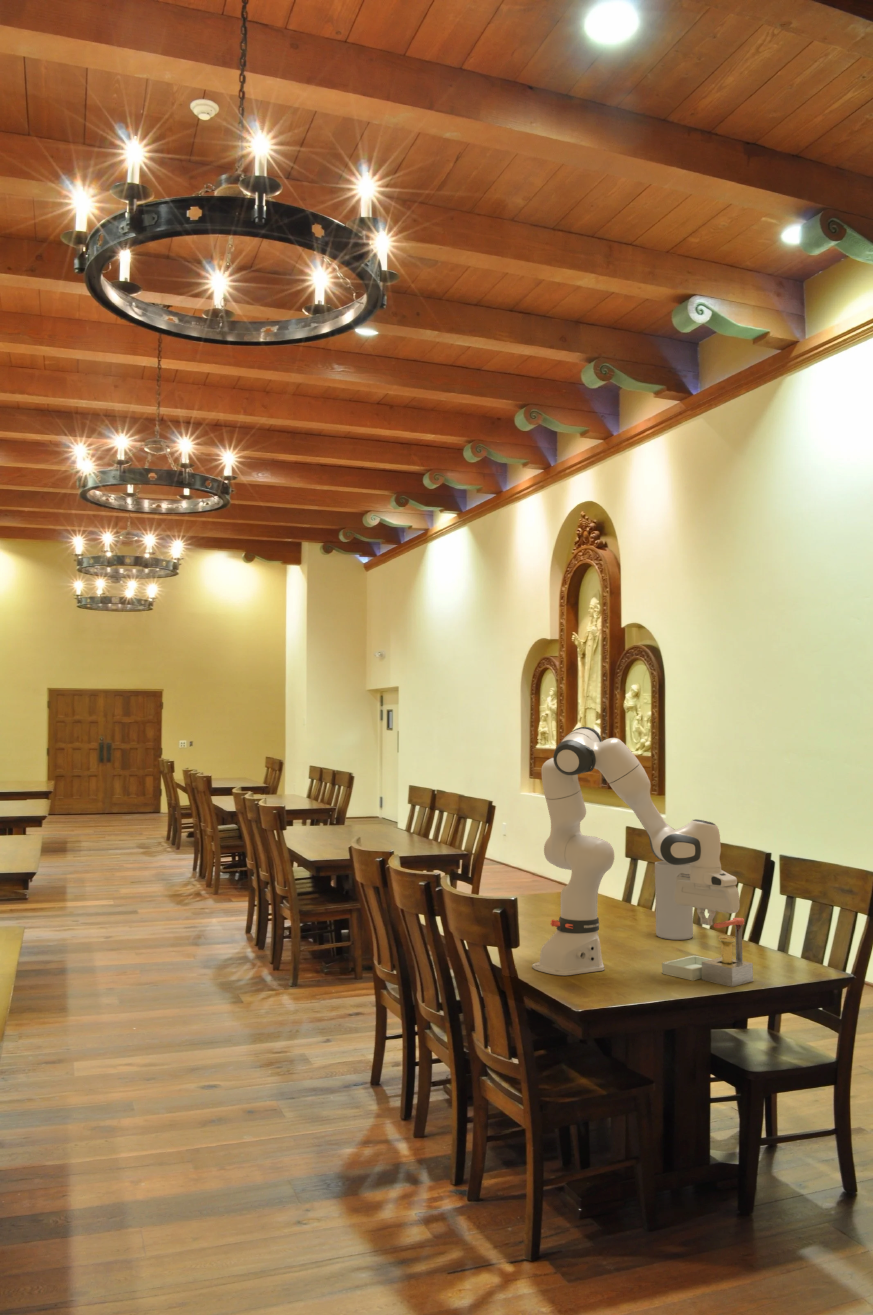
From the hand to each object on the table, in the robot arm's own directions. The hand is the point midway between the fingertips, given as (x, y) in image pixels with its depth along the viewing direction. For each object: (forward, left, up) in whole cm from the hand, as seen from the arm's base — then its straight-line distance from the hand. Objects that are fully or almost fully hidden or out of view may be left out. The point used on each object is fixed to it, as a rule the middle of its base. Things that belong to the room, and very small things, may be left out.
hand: (706, 924), depth 280 cm
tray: (+1, +6, -15) cm, 16 cm away
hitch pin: (+1, -6, -15) cm, 16 cm away
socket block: (+2, -6, -15) cm, 16 cm away
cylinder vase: (+39, +41, -15) cm, 59 cm away
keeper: (+2, -6, 0) cm, 6 cm away
